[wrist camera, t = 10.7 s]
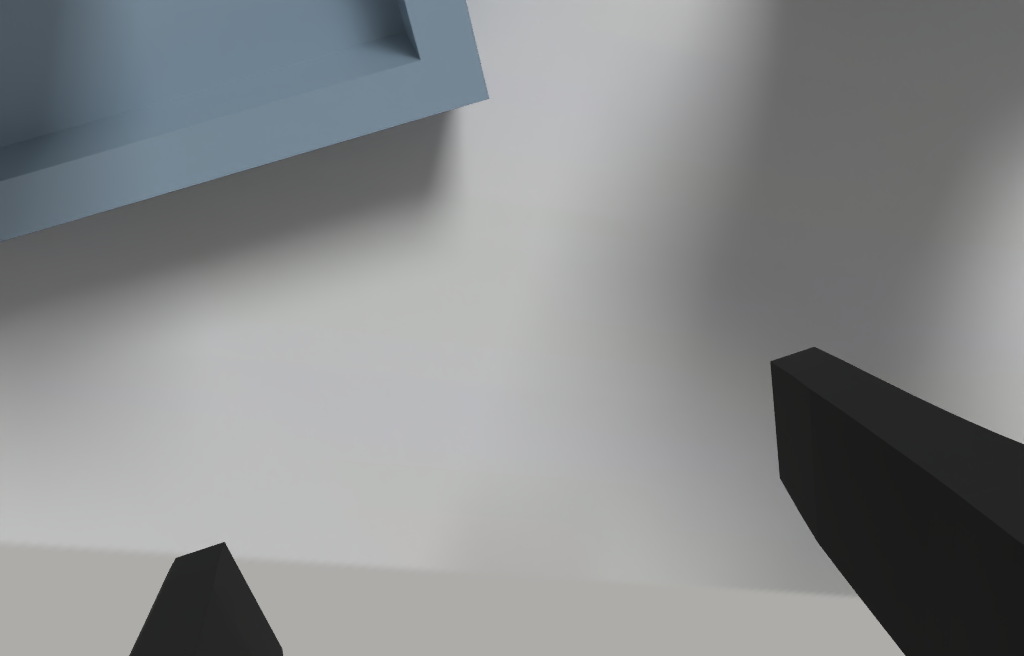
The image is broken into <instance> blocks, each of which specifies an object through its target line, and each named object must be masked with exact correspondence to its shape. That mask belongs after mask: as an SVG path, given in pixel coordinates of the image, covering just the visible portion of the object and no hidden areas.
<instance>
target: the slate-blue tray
mask: <svg viewBox="0 0 1024 656" xmlns="http://www.w3.org/2000/svg"><path fill="white" fill-rule="evenodd" d="M486 99H489V96H488V92H487V88H486V84H485V79H484V75H483V71H482V67H481V63H480V58H479V54H478V50H477V46H476V42H475V37H474V33H473V29H472V25H471V21H470V16H469V12H468V8H467V4H466V0H0V242H2V241H5V240H9V239H12V238H15V237H19V236H22V235H26V234H29V233H32V232H36V231H39V230H43V229H46V228H50V227H53V226H56V225H60V224H63V223H67V222H70V221H73V220H77V219H80V218H84V217H87V216H90V215H94V214H97V213H101V212H104V211H108V210H111V209H114V208H118V207H121V206H125V205H128V204H131V203H135V202H138V201H142V200H145V199H148V198H152V197H155V196H159V195H162V194H166V193H169V192H172V191H176V190H179V189H183V188H186V187H189V186H193V185H196V184H200V183H203V182H206V181H210V180H213V179H217V178H220V177H224V176H227V175H230V174H234V173H237V172H241V171H244V170H247V169H251V168H254V167H258V166H261V165H264V164H268V163H271V162H275V161H278V160H282V159H285V158H288V157H292V156H295V155H299V154H302V153H305V152H309V151H312V150H316V149H319V148H323V147H326V146H329V145H333V144H336V143H340V142H343V141H346V140H350V139H353V138H357V137H360V136H363V135H367V134H370V133H374V132H377V131H381V130H384V129H387V128H391V127H394V126H398V125H401V124H404V123H408V122H411V121H415V120H418V119H421V118H425V117H428V116H432V115H435V114H439V113H442V112H445V111H449V110H452V109H456V108H459V107H462V106H466V105H469V104H473V103H476V102H479V101H483V100H486Z"/></svg>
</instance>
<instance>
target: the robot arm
mask: <svg viewBox="0 0 1024 656" xmlns="http://www.w3.org/2000/svg"><path fill="white" fill-rule="evenodd" d="M770 363H771V375H772V387H773V399H774V411H775V423H776V435H777V447H778V459H779V472H780V479H781V481H782V482H783V484H784V486H785V488H786V489H787V491H788V493H789V495H790V496H791V498H792V500H793V502H794V503H795V505H796V507H797V509H798V510H799V512H800V514H801V516H802V517H803V519H804V520H805V522H806V524H807V525H808V527H809V529H810V530H811V532H812V534H813V535H814V537H815V539H816V540H817V542H818V543H819V545H820V546H821V547H822V549H823V550H824V551H825V553H826V554H827V555H828V557H829V558H830V559H831V560H832V562H833V563H834V564H835V566H836V567H837V568H838V570H839V571H840V572H841V573H842V575H843V576H844V577H845V579H846V580H847V581H848V583H849V584H850V585H851V586H852V588H853V589H854V590H855V592H856V593H857V594H858V596H859V597H860V598H861V599H862V600H863V602H864V603H865V604H866V606H867V607H868V608H869V610H870V611H871V612H872V613H873V615H874V616H875V617H876V619H877V620H878V621H879V622H880V624H881V625H882V626H883V627H884V629H885V630H886V631H887V632H888V634H889V635H890V636H891V637H892V639H893V640H894V642H895V643H896V644H897V645H898V647H899V648H900V649H901V650H902V652H903V653H904V654H905V655H906V656H1024V444H1022V443H1019V442H1017V441H1014V440H1012V439H1009V438H1007V437H1004V436H1002V435H999V434H997V433H995V432H992V431H990V430H988V429H985V428H983V427H981V426H979V425H976V424H974V423H972V422H969V421H967V420H965V419H963V418H960V417H958V416H956V415H954V414H952V413H949V412H947V411H945V410H943V409H941V408H939V407H937V406H934V405H932V404H930V403H928V402H926V401H924V400H922V399H920V398H918V397H916V396H913V395H911V394H909V393H907V392H905V391H903V390H901V389H899V388H897V387H895V386H893V385H891V384H889V383H887V382H885V381H883V380H881V379H879V378H877V377H875V376H873V375H871V374H869V373H867V372H865V371H863V370H861V369H859V368H857V367H855V366H853V365H851V364H849V363H847V362H845V361H843V360H841V359H839V358H837V357H835V356H832V355H830V354H828V353H826V352H824V351H822V350H820V349H818V348H815V347H813V348H810V349H807V350H804V351H801V352H797V353H794V354H791V355H788V356H785V357H782V358H779V359H776V360H773V361H770ZM129 656H283V651H282V647H281V646H280V644H279V642H278V640H277V638H276V637H275V634H274V633H273V631H272V629H271V627H270V625H269V624H268V622H267V620H266V618H265V616H264V614H263V612H262V611H261V609H260V607H259V605H258V603H257V602H256V599H255V598H254V596H253V594H252V592H251V590H250V588H249V586H248V585H247V583H246V581H245V579H244V577H243V575H242V574H241V572H240V570H239V568H238V566H237V564H236V562H235V561H234V559H233V557H232V555H231V553H230V551H229V549H228V548H227V546H226V544H225V542H223V543H220V544H217V545H214V546H211V547H208V548H205V549H202V550H199V551H196V552H193V553H190V554H187V555H184V556H181V557H178V558H176V559H175V561H174V563H173V564H172V566H171V568H170V570H169V572H168V574H167V576H166V578H165V580H164V582H163V585H162V587H161V589H160V591H159V593H158V596H157V598H156V600H155V602H154V604H153V606H152V609H151V611H150V613H149V615H148V617H147V619H146V621H145V624H144V626H143V628H142V630H141V632H140V634H139V636H138V638H137V641H136V643H135V645H134V647H133V649H132V651H131V653H130V655H129Z"/></svg>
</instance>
